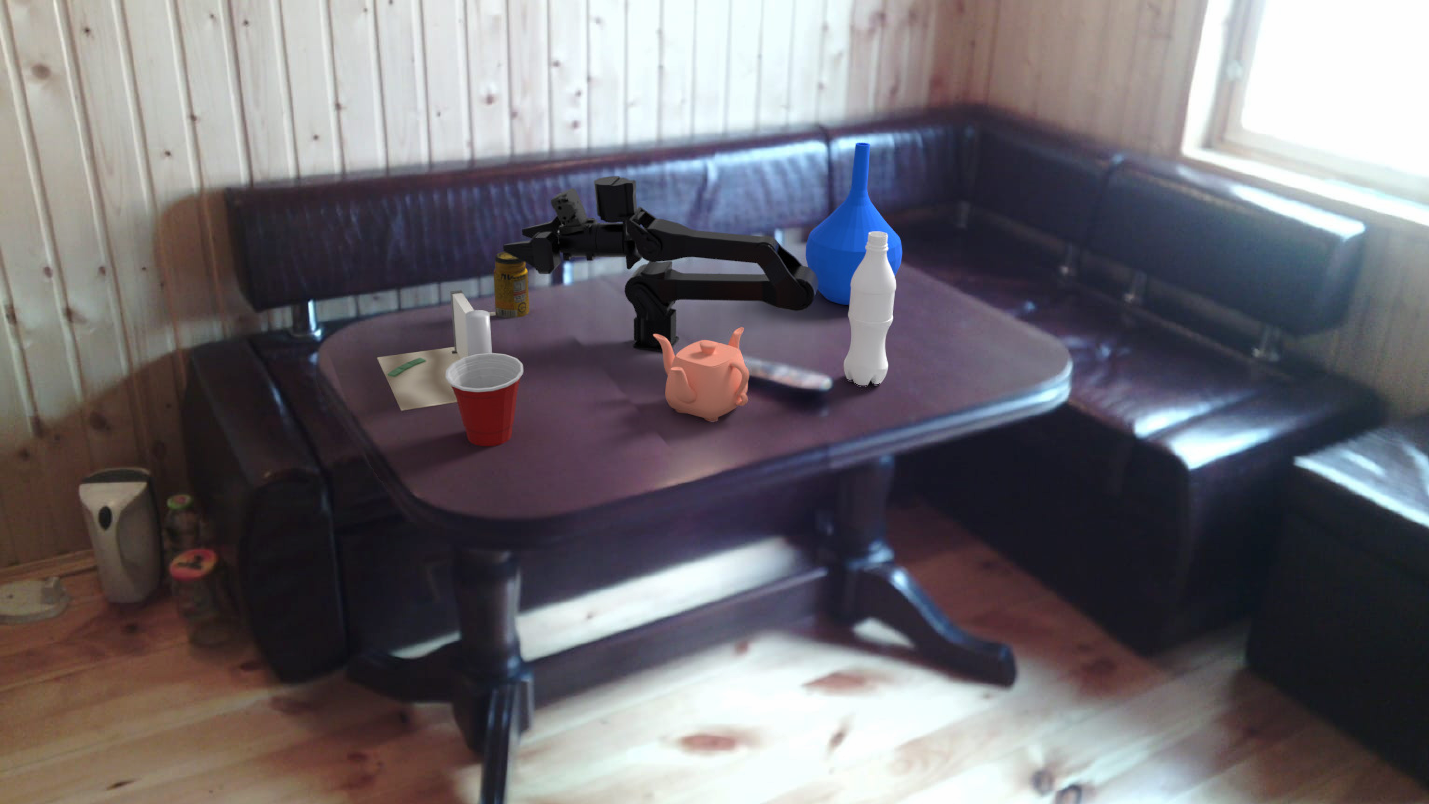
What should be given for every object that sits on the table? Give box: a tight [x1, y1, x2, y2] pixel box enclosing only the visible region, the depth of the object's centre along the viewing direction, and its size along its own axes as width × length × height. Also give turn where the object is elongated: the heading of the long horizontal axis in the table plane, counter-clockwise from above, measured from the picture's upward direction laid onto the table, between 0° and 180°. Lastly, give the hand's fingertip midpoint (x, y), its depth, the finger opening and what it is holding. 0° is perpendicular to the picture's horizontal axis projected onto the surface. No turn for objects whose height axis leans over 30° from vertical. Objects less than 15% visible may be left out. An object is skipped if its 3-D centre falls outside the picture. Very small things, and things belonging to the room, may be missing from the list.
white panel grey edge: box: [449, 289, 493, 359], centre depth 183 cm, size 17×4×12 cm, turn 24°
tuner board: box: [376, 346, 461, 412], centre depth 185 cm, size 16×21×2 cm
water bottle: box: [843, 231, 897, 386], centre depth 185 cm, size 7×7×25 cm
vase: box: [805, 142, 903, 306], centre depth 219 cm, size 18×18×30 cm
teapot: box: [653, 326, 750, 422], centre depth 177 cm, size 14×14×11 cm
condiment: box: [489, 251, 530, 319], centre depth 208 cm, size 7×8×12 cm
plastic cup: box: [446, 352, 524, 447], centre depth 165 cm, size 11×11×12 cm
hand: (513, 239), depth 199 cm, fingers open, 9 cm apart
